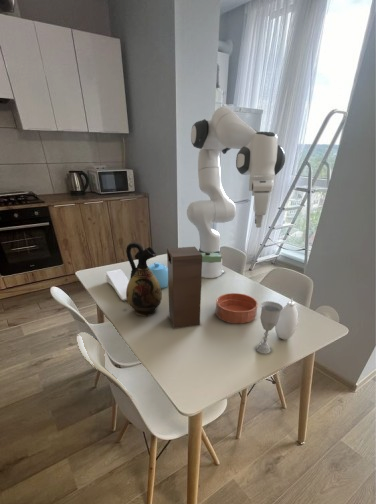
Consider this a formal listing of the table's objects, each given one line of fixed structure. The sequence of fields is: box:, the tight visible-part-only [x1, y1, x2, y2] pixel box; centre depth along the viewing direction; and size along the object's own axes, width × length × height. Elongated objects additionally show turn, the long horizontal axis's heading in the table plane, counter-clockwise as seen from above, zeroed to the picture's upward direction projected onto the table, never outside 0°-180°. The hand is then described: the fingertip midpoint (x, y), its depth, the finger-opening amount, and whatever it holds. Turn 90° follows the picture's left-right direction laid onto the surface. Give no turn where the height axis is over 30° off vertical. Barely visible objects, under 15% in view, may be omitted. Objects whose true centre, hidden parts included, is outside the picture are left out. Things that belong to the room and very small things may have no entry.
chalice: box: [256, 300, 284, 355], centre depth 101 cm, size 7×7×18 cm
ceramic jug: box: [125, 241, 163, 317], centre depth 121 cm, size 17×15×30 cm
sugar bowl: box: [148, 262, 168, 290], centre depth 150 cm, size 15×15×12 cm
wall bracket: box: [105, 268, 130, 301], centre depth 147 cm, size 10×7×28 cm
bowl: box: [215, 292, 259, 324], centre depth 126 cm, size 18×18×6 cm
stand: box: [166, 246, 203, 329], centre depth 114 cm, size 10×11×30 cm
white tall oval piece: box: [274, 296, 299, 340], centre depth 107 cm, size 8×8×18 cm
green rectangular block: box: [201, 252, 223, 262], centre depth 109 cm, size 4×13×3 cm, turn 104°
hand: (257, 225), depth 111 cm, fingers open, 8 cm apart
